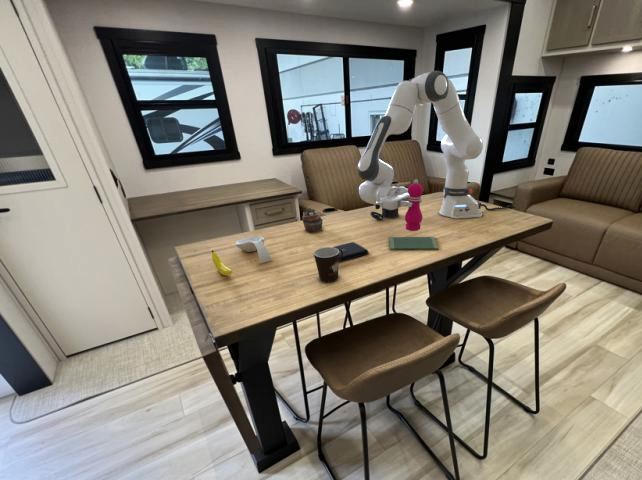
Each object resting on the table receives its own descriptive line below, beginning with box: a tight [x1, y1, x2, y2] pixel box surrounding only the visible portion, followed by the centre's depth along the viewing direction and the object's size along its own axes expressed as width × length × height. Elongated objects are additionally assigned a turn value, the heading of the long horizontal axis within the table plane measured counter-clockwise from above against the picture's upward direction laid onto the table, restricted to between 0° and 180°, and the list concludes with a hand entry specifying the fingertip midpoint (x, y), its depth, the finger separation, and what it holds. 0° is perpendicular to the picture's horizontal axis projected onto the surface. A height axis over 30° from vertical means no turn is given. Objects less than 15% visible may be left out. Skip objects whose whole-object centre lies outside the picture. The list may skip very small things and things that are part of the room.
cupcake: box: [301, 208, 324, 234], centre depth 152 cm, size 10×10×10 cm
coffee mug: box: [313, 246, 343, 284], centre depth 110 cm, size 12×9×10 cm
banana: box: [211, 250, 233, 277], centre depth 115 cm, size 3×19×6 cm, turn 39°
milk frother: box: [370, 185, 400, 221], centre depth 165 cm, size 14×16×15 cm
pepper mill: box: [404, 178, 424, 232], centre depth 129 cm, size 7×7×20 cm
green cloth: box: [389, 236, 439, 251], centre depth 137 cm, size 20×13×1 cm, turn 88°
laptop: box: [332, 241, 370, 262], centre depth 129 cm, size 16×20×2 cm
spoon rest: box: [235, 236, 272, 264], centre depth 130 cm, size 24×12×7 cm, turn 36°
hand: (416, 202), depth 128 cm, fingers closed on pepper mill, 5 cm apart
